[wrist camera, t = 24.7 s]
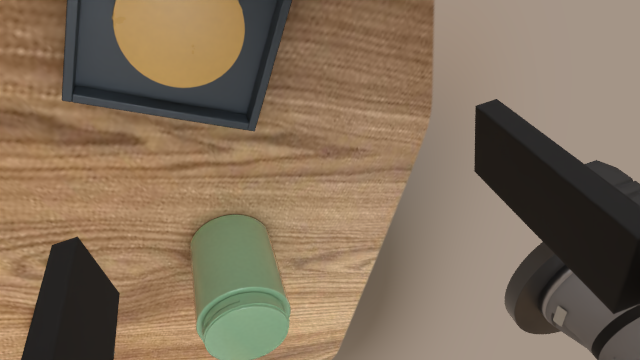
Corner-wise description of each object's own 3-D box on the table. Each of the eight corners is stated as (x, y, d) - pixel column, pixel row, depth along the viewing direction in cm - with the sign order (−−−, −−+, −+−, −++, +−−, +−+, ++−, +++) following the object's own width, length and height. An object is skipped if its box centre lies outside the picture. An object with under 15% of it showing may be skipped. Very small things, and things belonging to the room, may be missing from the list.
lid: (100, -43, 28) (97, -37, 27) (235, -48, 30) (239, -43, 29) (130, 83, 33) (128, 94, 31) (245, 72, 35) (249, 81, 33)
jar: (279, 217, 44) (307, 302, 36) (258, 275, 48) (280, 363, 40) (198, 210, 41) (208, 301, 33) (183, 272, 45) (189, 368, 37)
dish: (298, -54, 31) (306, -49, 30) (250, 119, 38) (254, 131, 36) (78, -129, 26) (73, -127, 24) (66, 88, 32) (61, 100, 31)
